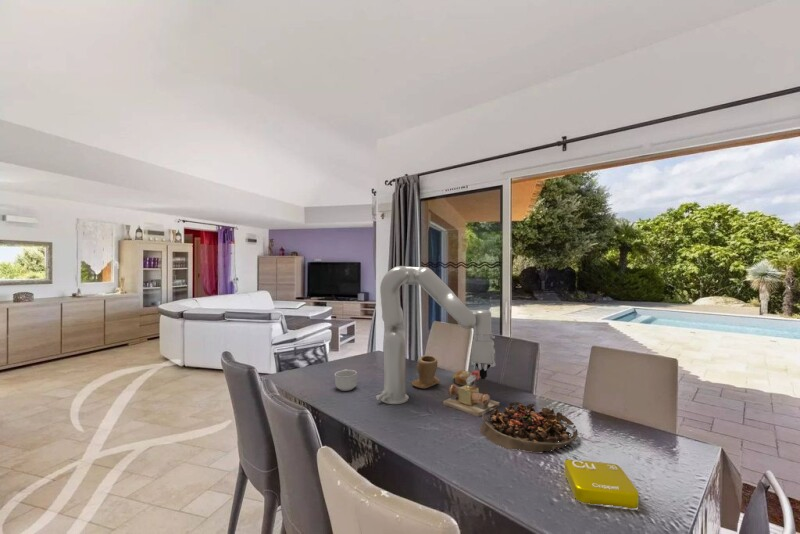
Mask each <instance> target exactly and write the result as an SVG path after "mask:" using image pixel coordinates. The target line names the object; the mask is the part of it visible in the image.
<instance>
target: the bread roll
mask: <svg viewBox="0 0 800 534" xmlns="http://www.w3.org/2000/svg"><path fill="white" fill-rule="evenodd" d="M471 375H472V372H470V371H469V370H459V371H457V372H456V373H455V374H453V376H452V380H453V382H454V383H455V385H457V386H458V385H459V386H465V385H467V382H466V381H467V378H468V377H469V376H471ZM474 382H475V380H474V381H473V382H472V383H470V385H471V386H473V383H474Z"/></svg>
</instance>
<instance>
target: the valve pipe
mask: <svg viewBox="0 0 800 534" xmlns="http://www.w3.org/2000/svg"><path fill="white" fill-rule="evenodd" d="M448 394H449V395H450V398H451V399H453V400H458V399H459V402H461V403H464V404H467V405H470V406H471V405H473V404H475V403H478V408H481V409H486V408H488V404H489V402H490V400H491V397H490V395H489V394H488V393H480V392H479V387H477V386H473V385H470V386H467V385H461V386H458V385H457V384H454V383H452V384H450V386H449V387H448Z"/></svg>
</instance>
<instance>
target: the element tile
mask: <svg viewBox="0 0 800 534" xmlns="http://www.w3.org/2000/svg"><path fill="white" fill-rule="evenodd" d="M563 469H564V471H563V472H564V473H565V475H564V477H565V476H566V478H567V480H568V482H569V485H570V487H571V489H570V491H571V490H572V492H573V494H574V496H573V498H574V497H575V498H576V499H577V500H579V501H581V502H583V503H590V504H603V505H613V506H622V507H628V508H637V507H638V508H639V499H640V498H639V495H640V494H639V491H638V489H637V488H636V487H635V485H634V483H632V481H631V480H630V478H629V477H628V475H627V473H625V471H624V470H623V469H622V467H621V466H619V465H618V464H616V463H610V462H598V461H590V460H579V459H566V460H564V468H563ZM566 478H565V479H566ZM567 480H566V481H567ZM568 482H567V483H568ZM569 485H568V486H569ZM570 487H569V488H570ZM572 492H571V493H572ZM573 494H572V495H573Z"/></svg>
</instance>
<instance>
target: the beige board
mask: <svg viewBox="0 0 800 534" xmlns="http://www.w3.org/2000/svg"><path fill="white" fill-rule="evenodd" d="M442 402H443V403H442V405H445V406H447V407H450V408H453V409H456V410H457V411H458V410H459V411H462V412H464V413H467V414H468V415H473V416H476V417H481V416H483V413H484V411H485V410H486V409H488V408H490V407H491V406H494V405H497V404H499V405H498V406H497V407H494V408H490V409H489V411H490V412H491V411H494V410H496V408H498V407H500V402H499V401H496V400H493V399H490V402H489V404H488V408H486V409H481V408H478V403H475V404H473V405H471V406H470V405H467V404H464V403H461V402H459V399H458V400H453V399H451V397H450V398H447V399H445V400H443V401H442ZM487 413H489V412H488V411H485V413H484V415H485V414H487Z"/></svg>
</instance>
